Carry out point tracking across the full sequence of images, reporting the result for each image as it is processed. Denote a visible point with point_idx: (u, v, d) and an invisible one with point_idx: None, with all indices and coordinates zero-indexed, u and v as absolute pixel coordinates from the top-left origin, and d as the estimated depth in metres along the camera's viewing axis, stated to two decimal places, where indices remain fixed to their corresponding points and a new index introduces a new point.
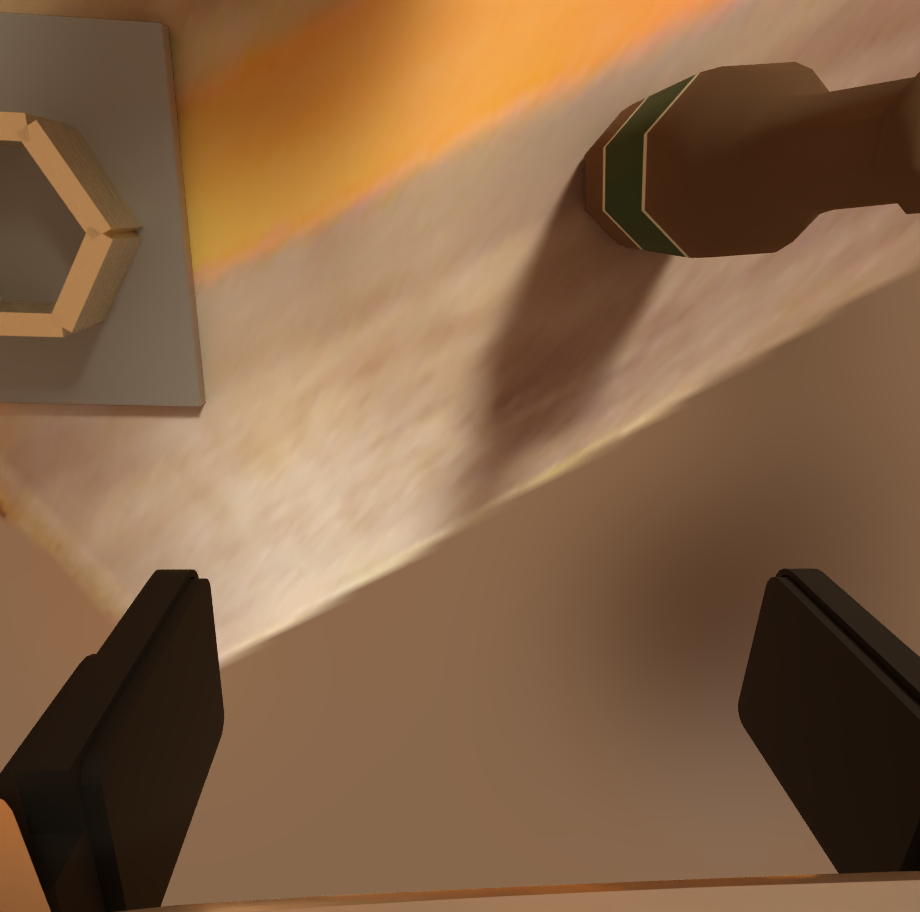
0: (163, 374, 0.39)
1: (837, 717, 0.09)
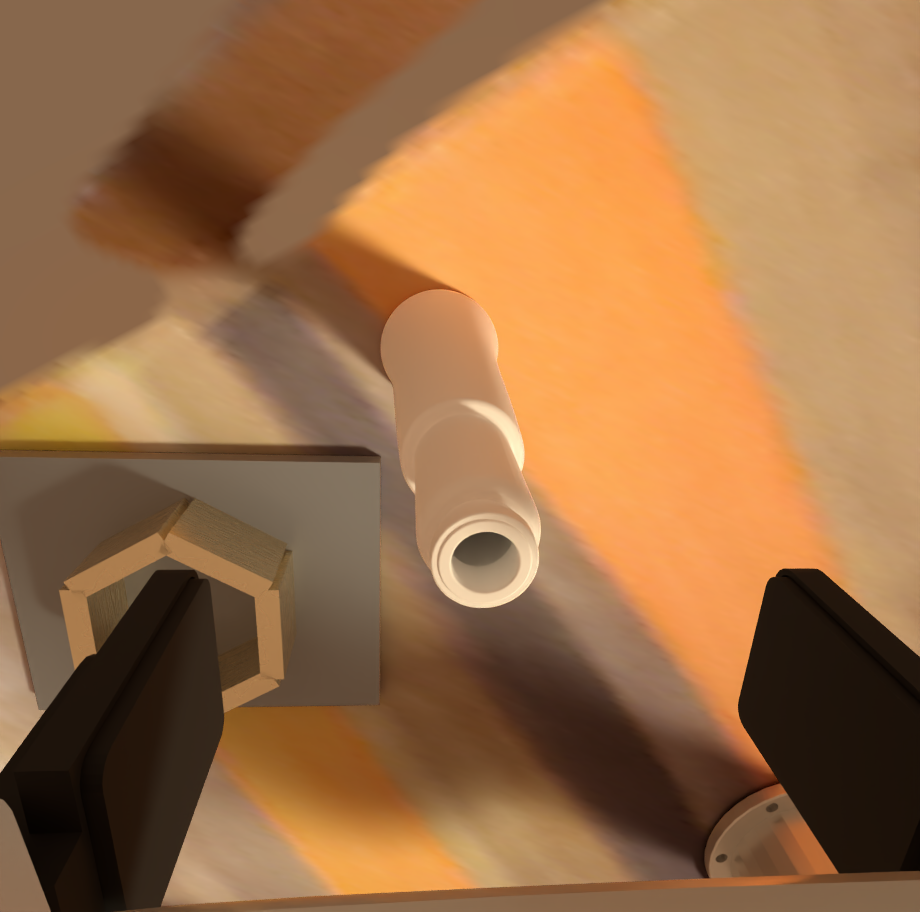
0: None
1: (837, 717, 0.09)
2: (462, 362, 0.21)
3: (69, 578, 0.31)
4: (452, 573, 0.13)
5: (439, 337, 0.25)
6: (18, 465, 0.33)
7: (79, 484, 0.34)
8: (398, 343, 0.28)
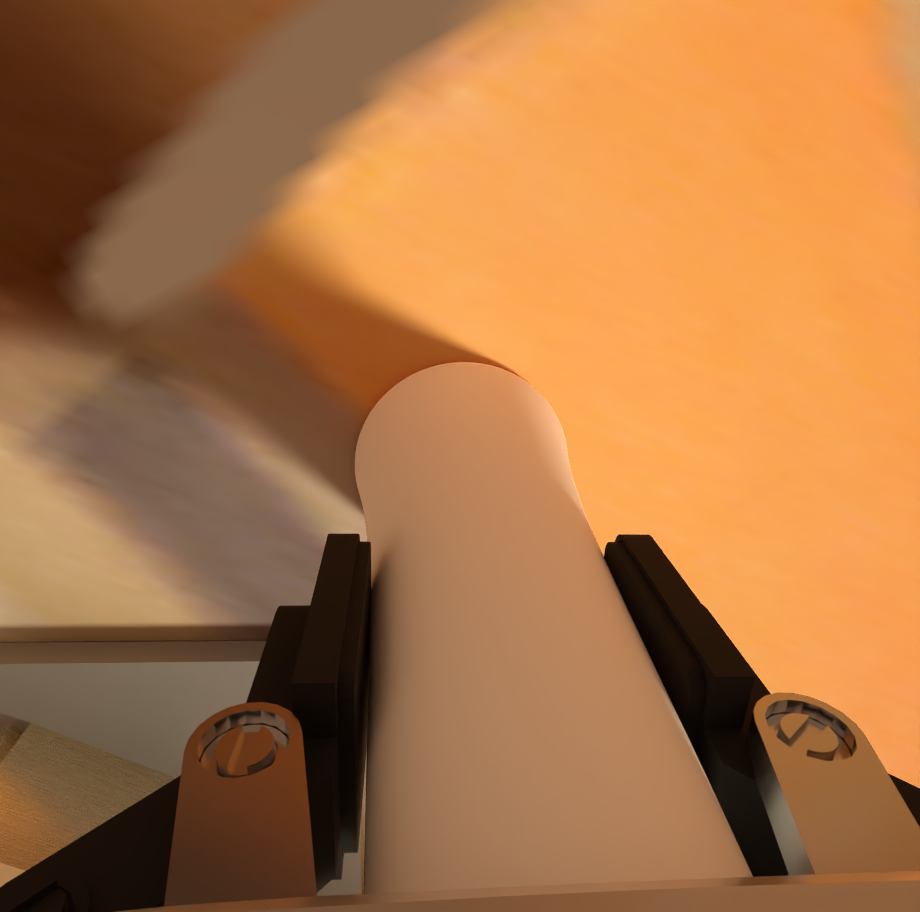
0: None
1: None
2: (582, 726, 0.06)
3: None
4: None
5: (482, 538, 0.10)
6: None
7: None
8: (383, 500, 0.13)
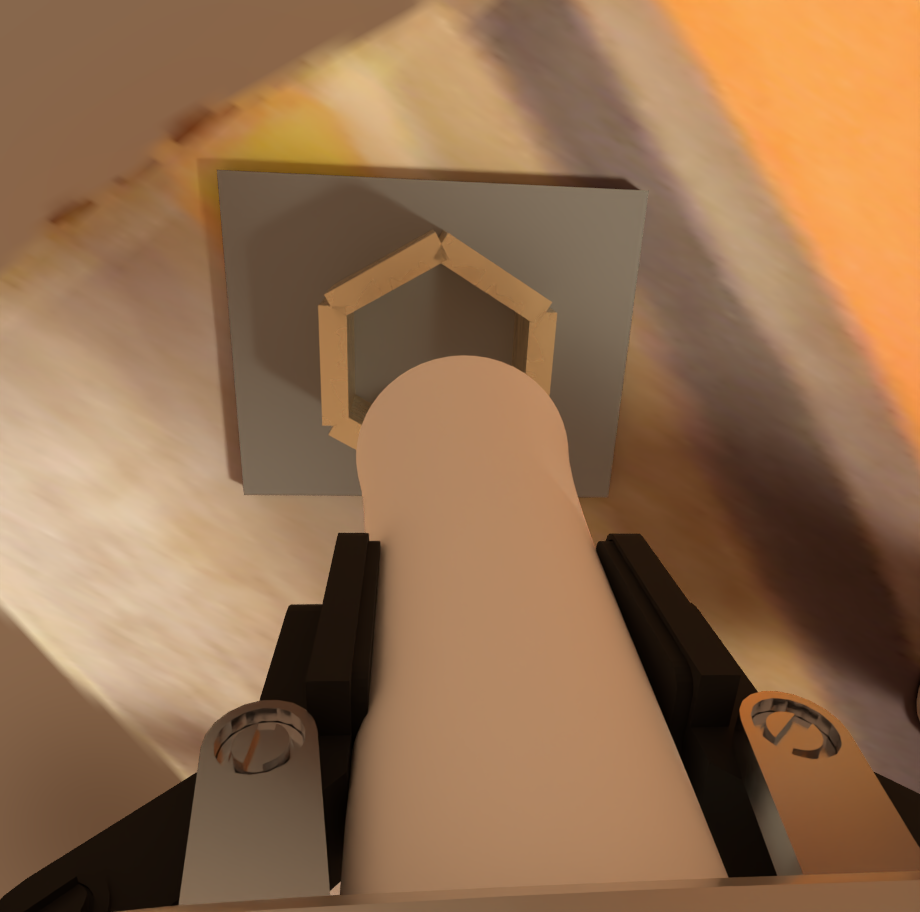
0: (279, 460, 0.34)
1: None
2: (555, 712, 0.07)
3: (330, 291, 0.28)
4: None
5: (471, 528, 0.10)
6: (255, 182, 0.30)
7: (319, 209, 0.30)
8: (380, 491, 0.13)
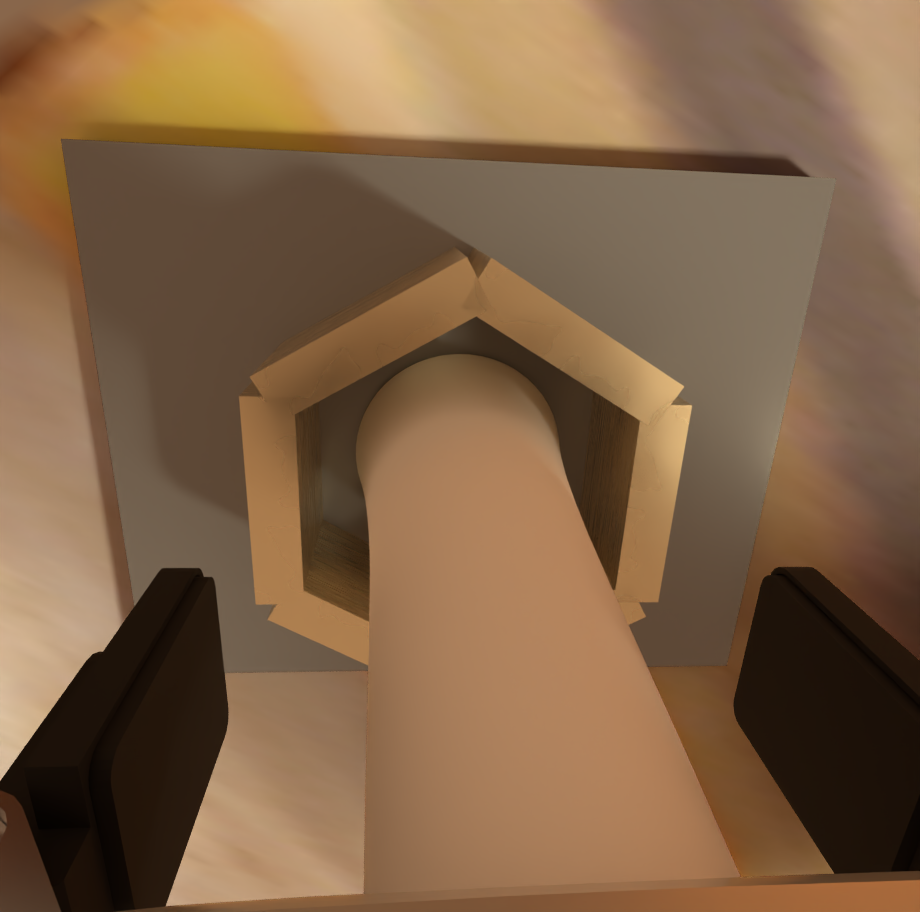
0: None
1: (831, 714, 0.09)
2: (554, 666, 0.07)
3: (262, 369, 0.14)
4: None
5: (471, 512, 0.11)
6: (134, 162, 0.16)
7: (252, 211, 0.17)
8: (382, 483, 0.14)
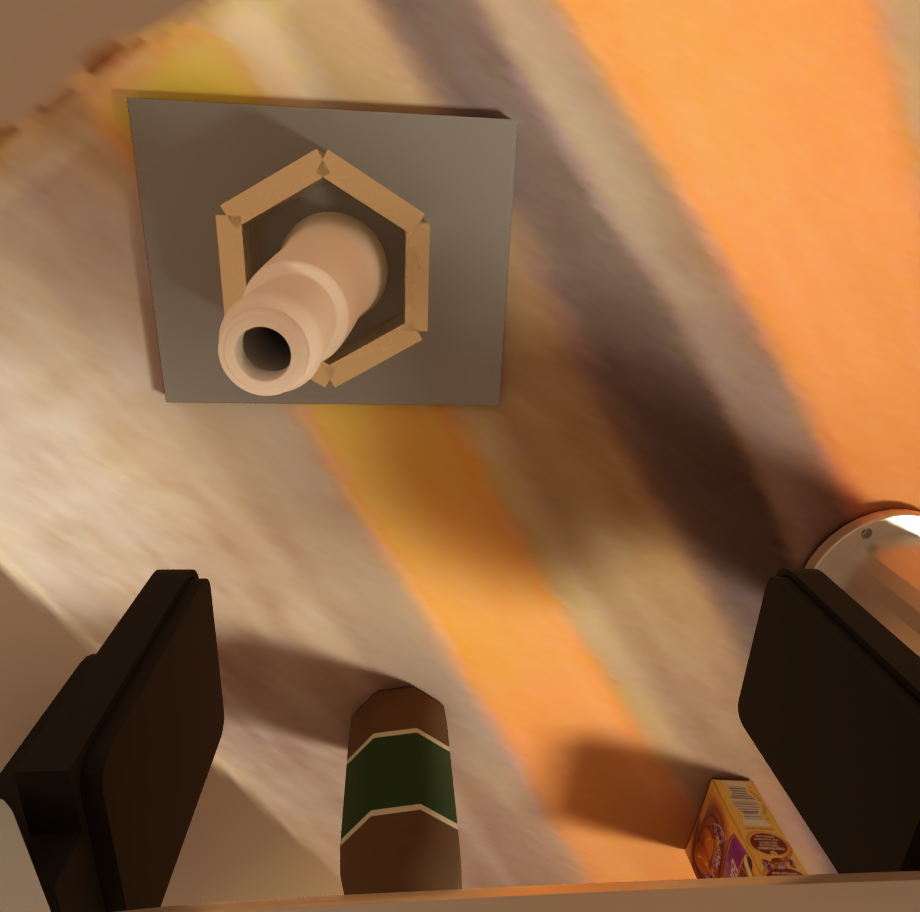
0: (196, 370, 0.38)
1: (837, 717, 0.09)
2: (309, 246, 0.25)
3: (226, 202, 0.31)
4: (237, 364, 0.16)
5: (305, 237, 0.28)
6: (162, 109, 0.33)
7: (221, 134, 0.34)
8: None
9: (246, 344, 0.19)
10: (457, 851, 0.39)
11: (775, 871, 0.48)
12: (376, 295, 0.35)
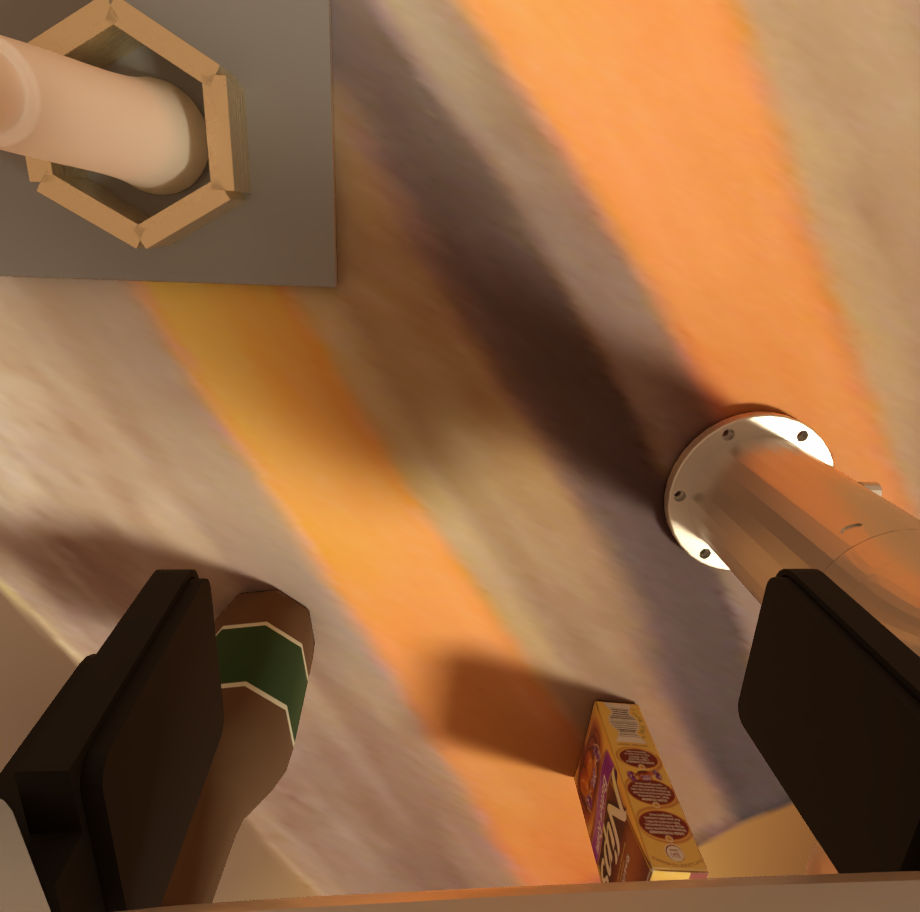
0: (26, 242, 0.39)
1: (837, 717, 0.09)
2: None
3: None
4: None
5: None
6: None
7: None
8: None
9: None
10: (278, 727, 0.38)
11: (638, 782, 0.47)
12: (187, 157, 0.35)
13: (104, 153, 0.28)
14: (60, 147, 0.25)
